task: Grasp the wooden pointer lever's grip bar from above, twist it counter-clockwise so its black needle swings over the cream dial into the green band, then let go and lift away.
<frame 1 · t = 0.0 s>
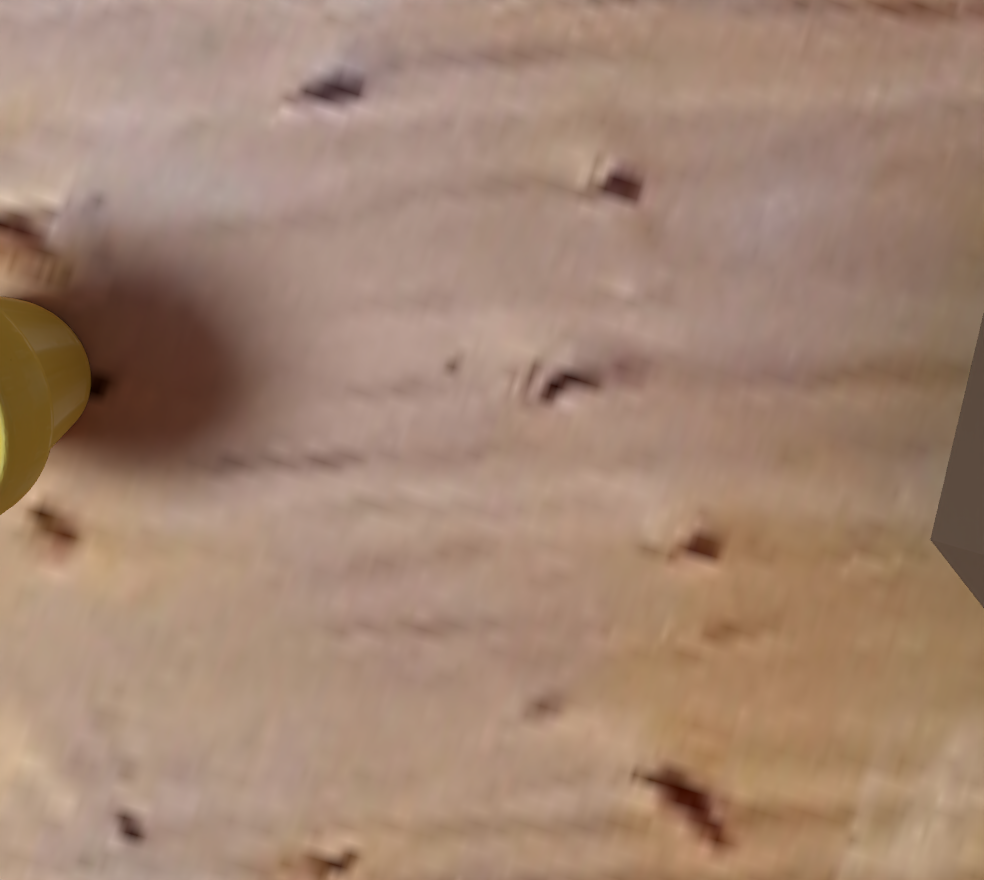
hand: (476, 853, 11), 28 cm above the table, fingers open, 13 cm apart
plant pot: (26, 368, 38), on the table
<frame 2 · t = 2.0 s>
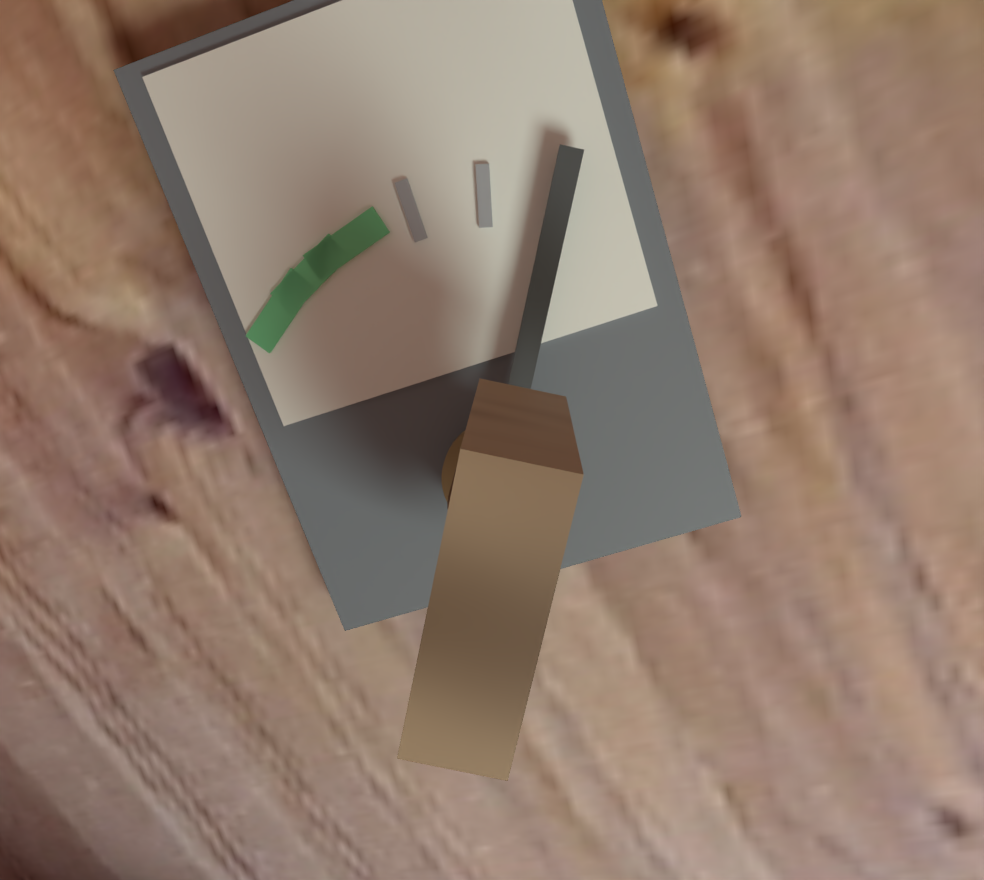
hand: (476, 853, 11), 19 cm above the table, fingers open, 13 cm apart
tuner board: (449, 301, 27), on the table
wooden pointer lever: (520, 413, 21), point 7 cm above the table, hinge at -30.0°
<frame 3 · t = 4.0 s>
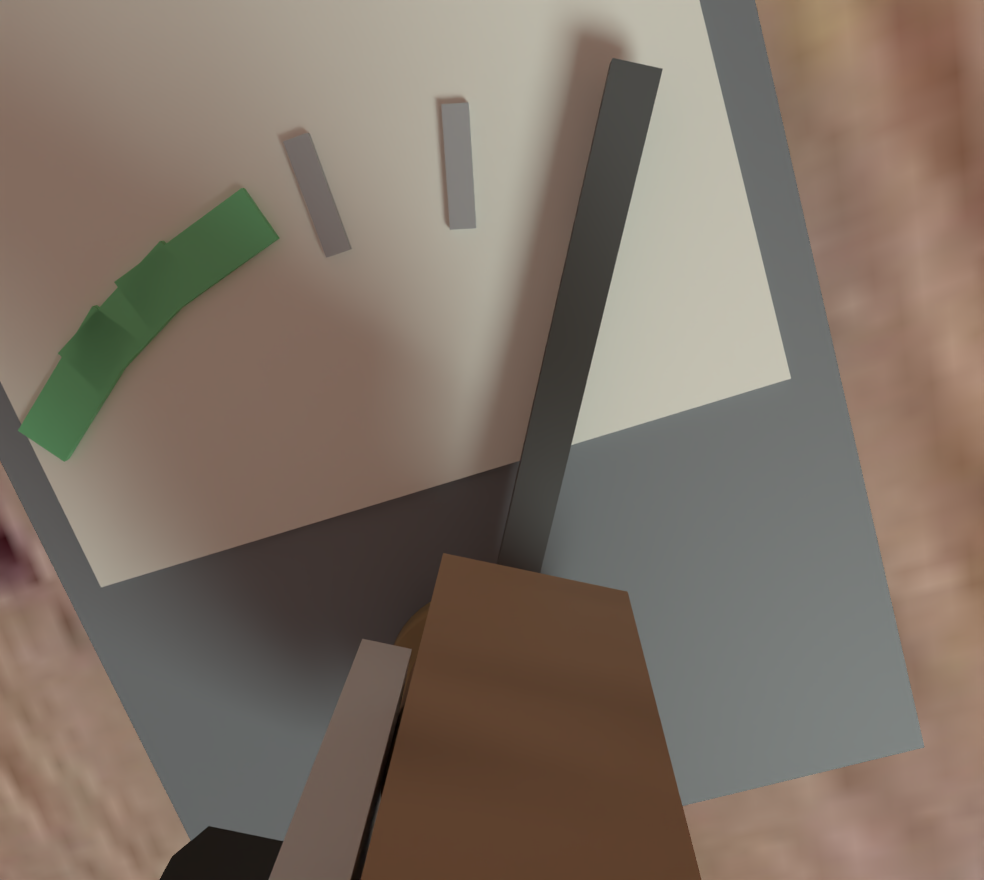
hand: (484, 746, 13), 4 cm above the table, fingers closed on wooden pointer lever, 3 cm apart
tuner board: (401, 359, 15), on the table
wooden pointer lever: (531, 674, 9), point 7 cm above the table, hinge at -30.0°, touching gripper
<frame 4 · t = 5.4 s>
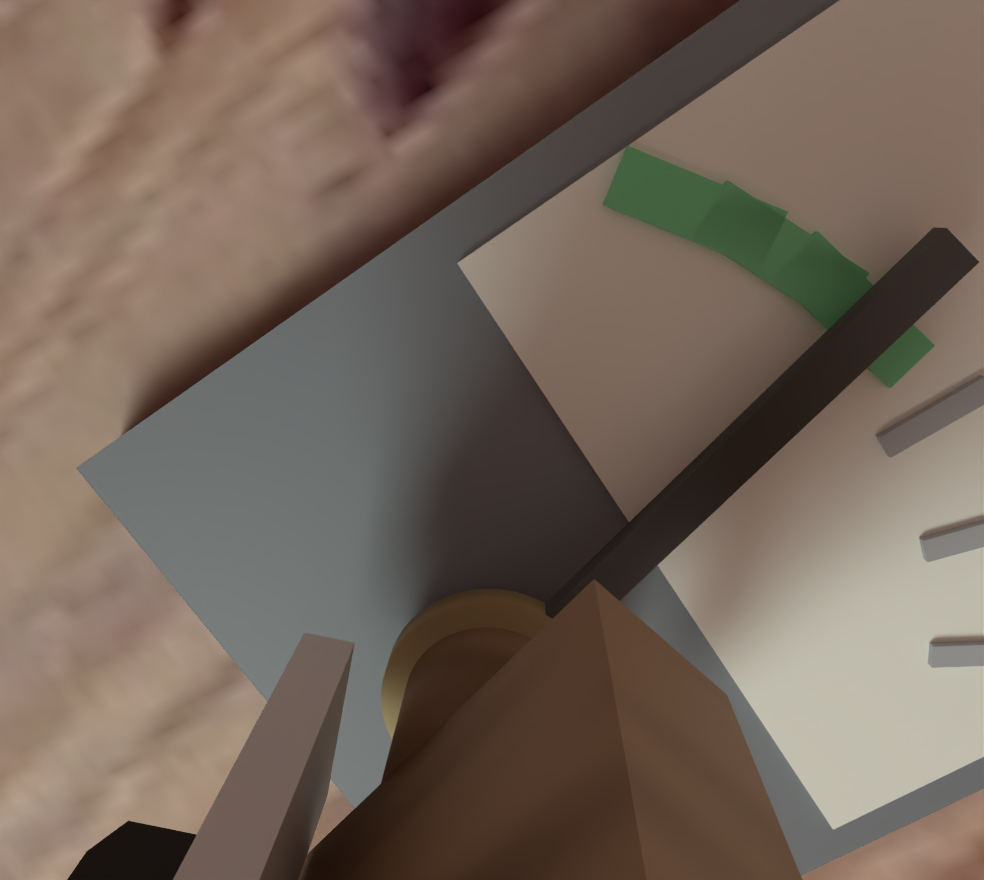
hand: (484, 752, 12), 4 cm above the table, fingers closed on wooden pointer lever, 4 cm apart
tuner board: (740, 479, 15), on the table
wooden pointer lever: (673, 746, 9), point 7 cm above the table, hinge at 14.1°, touching gripper
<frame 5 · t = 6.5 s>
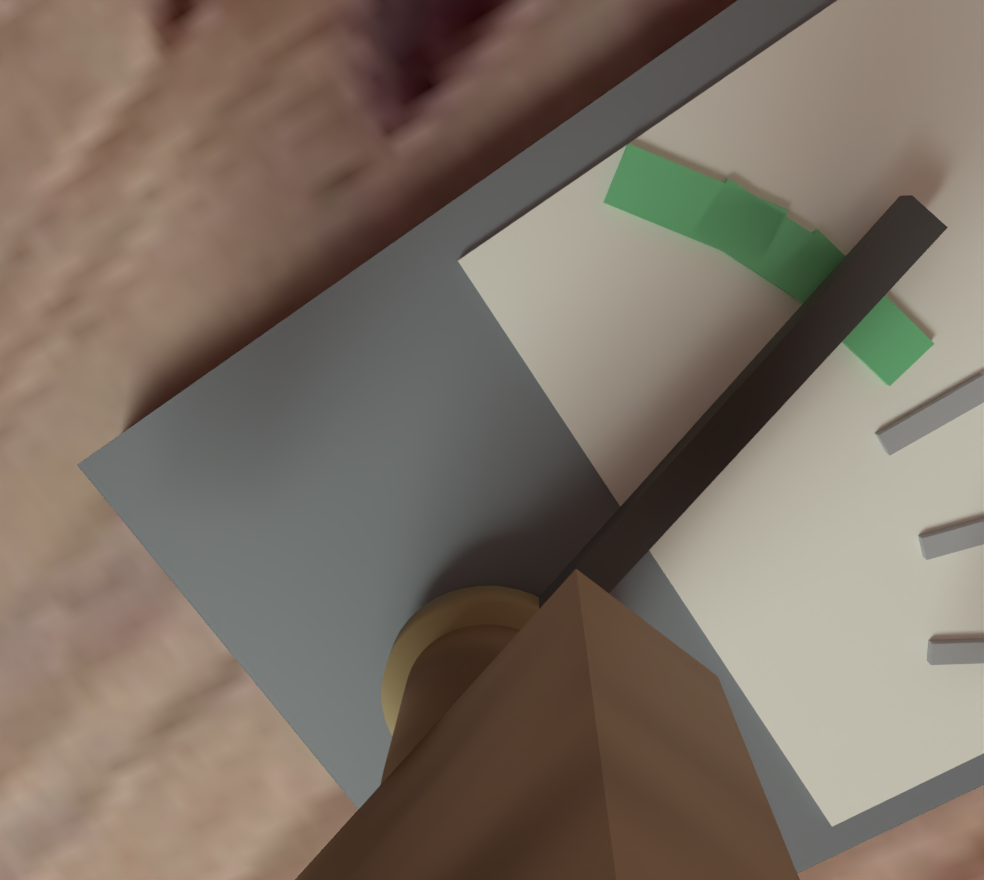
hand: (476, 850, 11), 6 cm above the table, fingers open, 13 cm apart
tuner board: (740, 477, 15), on the table
wooden pointer lever: (658, 730, 9), point 7 cm above the table, hinge at 18.0°
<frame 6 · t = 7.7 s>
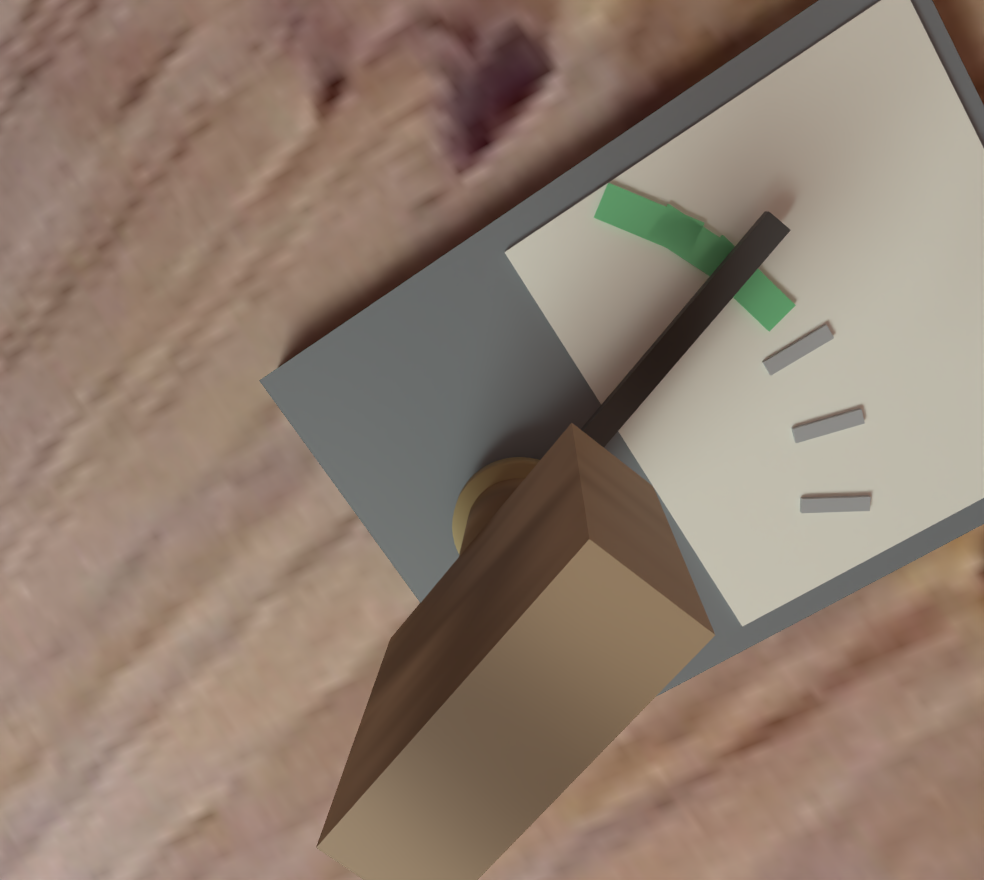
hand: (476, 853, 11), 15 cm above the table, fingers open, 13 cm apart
tuner board: (684, 396, 24), on the table
wooden pointer lever: (613, 490, 17), point 7 cm above the table, hinge at 18.8°
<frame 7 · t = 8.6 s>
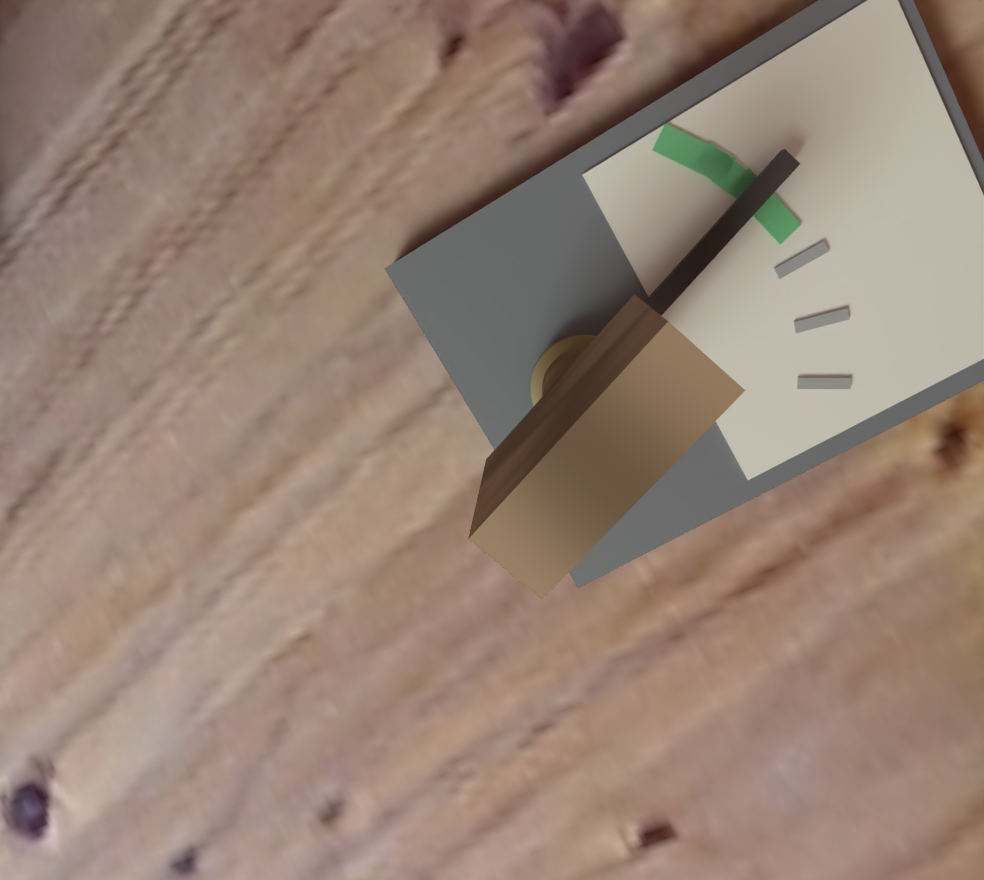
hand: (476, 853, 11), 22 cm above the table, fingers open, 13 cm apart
tuner board: (710, 300, 30), on the table
wooden pointer lever: (666, 334, 24), point 7 cm above the table, hinge at 18.9°
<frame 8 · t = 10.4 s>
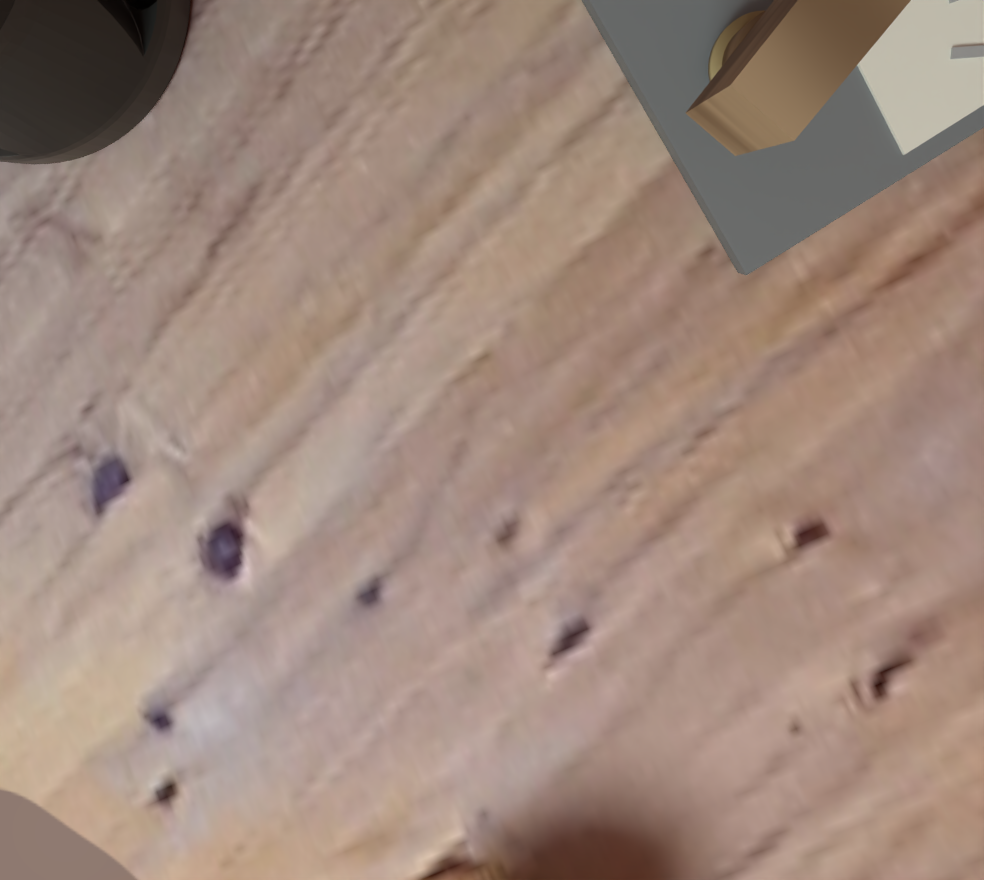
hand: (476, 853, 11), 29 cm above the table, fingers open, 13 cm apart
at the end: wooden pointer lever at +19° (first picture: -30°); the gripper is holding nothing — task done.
